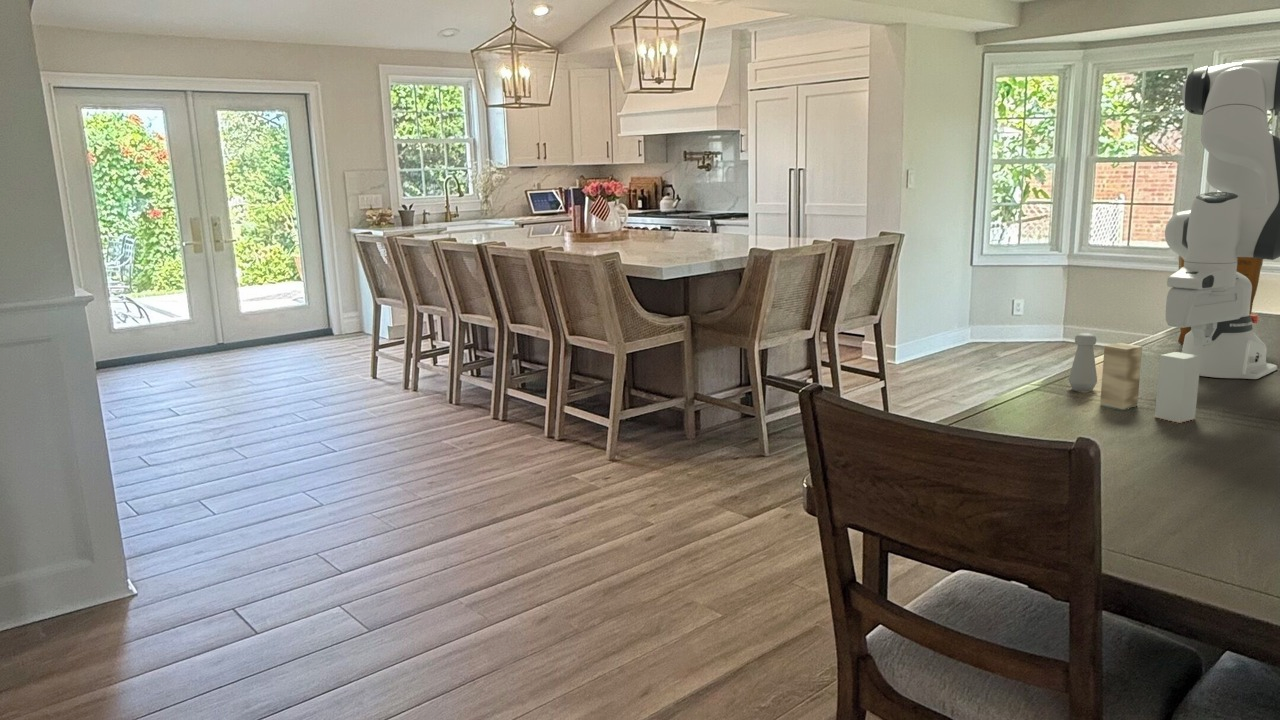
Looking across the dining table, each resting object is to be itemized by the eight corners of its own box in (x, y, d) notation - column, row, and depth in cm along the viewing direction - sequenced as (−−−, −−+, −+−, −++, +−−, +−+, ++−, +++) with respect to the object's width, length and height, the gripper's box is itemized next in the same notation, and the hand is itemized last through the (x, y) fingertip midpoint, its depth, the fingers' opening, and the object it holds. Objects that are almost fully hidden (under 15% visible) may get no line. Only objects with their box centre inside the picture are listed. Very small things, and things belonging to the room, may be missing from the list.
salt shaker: (1099, 393, 198) (1103, 336, 196) (1071, 393, 200) (1075, 336, 197) (1092, 387, 204) (1096, 331, 201) (1065, 386, 205) (1068, 331, 202)
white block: (1170, 414, 181) (1175, 351, 178) (1194, 419, 176) (1201, 355, 174) (1154, 418, 178) (1160, 355, 176) (1179, 423, 174) (1185, 359, 171)
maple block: (1115, 402, 191) (1119, 342, 188) (1137, 406, 187) (1142, 346, 184) (1100, 405, 189) (1104, 345, 186) (1122, 410, 184) (1126, 349, 182)
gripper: (1223, 271, 182) (1216, 337, 185) (1161, 278, 173) (1155, 348, 175) (1256, 273, 177) (1248, 342, 179) (1194, 281, 167) (1187, 353, 170)
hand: (1202, 345), depth 177 cm, fingers closed
